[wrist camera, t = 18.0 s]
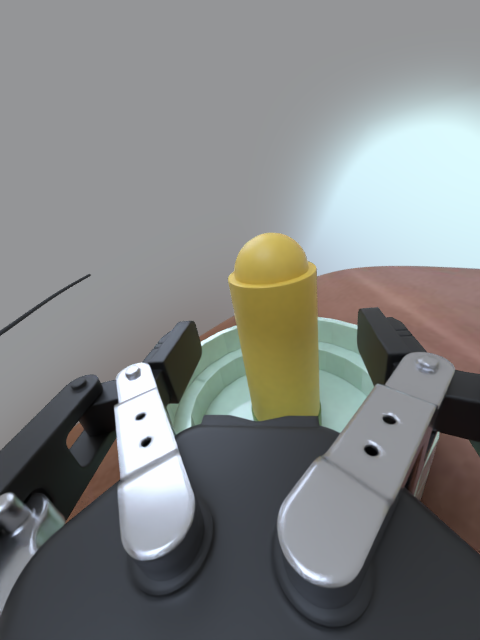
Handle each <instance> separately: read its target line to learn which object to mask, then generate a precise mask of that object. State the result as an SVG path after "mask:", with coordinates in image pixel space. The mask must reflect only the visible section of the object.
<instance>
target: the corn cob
mask: <svg viewBox="0 0 480 640" xmlns="http://www.w3.org/2000/svg"><path fill="white" fill-rule="evenodd" d="M228 283H229V287H230V293H231V298H232V303H233V309H234V314H235V319H236V325H237V330H238V335H239V340H240V345H241V351H242V356H243V361H244V366H245V372H246V377H247V382H248V387H249V392H250V398H251V403H252V406H251V409H252V415H253V420H254V421H264V420H269V419H274V418H279V417H284V416H318V418H319V425H320V426H322V414H321V402H320V392H319V351H318V310H317V271H316V266H315V265H314V264H313V263H311V262H309V261H307V257H306V255H305V252H304V251H303V249H302V248H301V246H300V245H299V244H298V243H297V242H296V241H295V240H293V239H292V238H290V237H288V236H286V235H283V234H280V233H265V234H261V235H258V236H256V237H254V238H253V239H251V240H250V241H248V242H247V243H246V244H245V245H244V246H243V248H242V249H241V251H240V252H239V254H238V256H237V259H236V262H235V271H234V272H233V273H231V275H229V277H228Z"/></svg>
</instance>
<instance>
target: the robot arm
mask: <svg viewBox="0 0 480 640" xmlns="http://www.w3.org/2000/svg"><path fill="white" fill-rule="evenodd" d="M90 276H91V274H88V275H86V276H85V277H83V278H81V279H79V280H77V281H75V282H73V283H72V284H70V285H68V286H67V287H65V288H63V289H62V290H60V291H58V292H57V293H55V294H53V295H52V296H50V297H49V298H47V299H46V300H44V301H43V302H41V303H40V304H38V305H37V306H36V307H34V308H32V309H31V310H29V311H28V312H27V313H25V314H24V315H23V316H21V317H20V318H18V319H17V320H15V321H14V322H12V323H11V324H9V325H8V326H7V327H5V328H4V329H2V330H1V331H0V336H1V335H2V334H3V333H5V332H6V331H8V330H9V329H11V328H12V327H13V326H15V325H16V324H18V323H19V322H20V321H22V320H23V319H25V318H26V317H27V316H29V315H30V314H31V313H33V312H34V311H35V310H37V309H38V308H40V307H41V306H42V305H44V304H45V303H47V302H48V301H50V300H51V299H53V298H54V297H56V296H57V295H59V294H60V293H62V292H64V291H65V290H67V289H68V288H70V287H72V286H73V285H75V284H77V283H79V282H81V281H82V280H84V279H86V278H88V277H90ZM357 347H358V351H359V353H360V356H361V358H362V360H363V362H364V365H365V367H366V369H367V372H368V374H369V376H370V378H371V381H372V383H373V385H374V388H373V389H372V391H371V392H370V393H369V395H368V396H367V397H366V399H365V400H364V402H363V403H362V404H361V406H360V407H359V408H358V410H357V411H356V413H355V414H354V415H353V417H352V418H351V419H350V421H349V422H348V424H347V425H346V426H345V428H344V429H343V430H342V432H341V433H339V432H337V431H335V430H333V429H330V428H327V427H324V426H320V425H319V418H318V416H284V417H279V418H274V419H269V420H264V421H253V420H248V419H244V418H240V417H236V416H232V415H204V416H203V419H202V422H201V424H198V425H195V426H192V427H189V428H187V429H185V430H183V431H181V432H179V433H178V434H176V432H175V429H174V426H173V424H172V421H171V418H170V415H169V413H168V410H167V406H168V404H179V402H180V400H181V398H182V396H183V394H184V392H185V390H186V388H187V386H188V384H189V381H190V379H191V377H192V375H193V373H194V371H195V369H196V367H197V365H198V363H199V361H200V359H201V356H202V346H201V342H200V339H199V335H198V331H197V328H196V324H195V322H194V321H184V322H179V323H177V325H176V326H175V327H174V329H173V330H172V331H170V332H169V333H167V334H166V335H164V336H163V337H162V338H161V339H160V341H159V342H158V344H156V346H155V347H154V349H153V350H152V351H151V352H150V353H149V354H148V356H147V357H146V358H145V359H144V361H143V362H142V363H136V364H133V365H130V366H128V367H126V368H125V369H123V370H122V371H121V372H120V373H119V374H118V375H117V377H116V380H112V381H108V382H104V383H100V381H99V379H98V377H97V376H96V375H85V376H82V377H79V378H77V379H75V380H74V381H72V382H70V383H69V384H68V385H66V386H65V387H64V388H63V389H62V390H61V391H60V392H59V393H58V394H57V395H56V396H55V397H54V398H53V399H52V400H51V401H50V402H49V403H48V404H47V405H46V406H45V407H44V408H43V409H42V410H41V411H40V412H39V413H38V414H37V415H36V416H35V417H34V418H33V419H32V420H31V421H30V422H29V423H28V424H27V425H26V426H25V427H24V428H23V429H22V430H21V431H20V432H19V433H18V434H17V435H16V436H15V437H14V438H13V439H12V440H11V441H10V442H9V443H8V444H7V445H6V446H5V447H4V448H3V449H2V450H1V451H0V640H480V555H479V554H478V553H477V552H476V551H475V550H474V549H473V548H472V547H470V546H469V545H468V544H467V543H466V542H465V541H464V540H463V539H462V538H460V537H459V536H458V535H457V534H456V533H455V532H454V531H453V530H452V529H450V528H449V527H448V526H447V525H446V524H445V523H444V522H443V521H442V520H440V519H439V518H438V517H437V516H436V515H435V514H434V513H433V512H432V511H431V510H429V509H428V508H427V507H426V506H425V505H424V504H423V503H422V502H421V501H419V500H418V499H417V498H416V497H415V496H414V493H415V490H416V487H417V484H418V481H419V478H420V475H421V472H422V470H423V467H424V465H425V462H426V460H427V457H428V455H429V453H430V450H431V448H432V445H433V443H434V440H435V438H436V435H437V433H438V432H441V433H445V434H448V435H452V436H456V437H460V438H464V439H468V440H469V441H470V443H471V444H472V446H473V447H474V449H475V450H476V452H477V454H478V455H479V457H480V374H475V373H469V372H463V371H458V370H455V368H454V366H453V364H452V363H451V362H450V361H448V360H447V359H445V358H443V357H441V356H439V355H436V354H432V353H427V352H426V350H425V349H424V348H423V347H422V346H421V345H420V343H419V342H418V341H417V340H416V339H415V337H414V336H412V334H411V333H410V331H408V329H407V328H406V327H405V325H404V324H403V323H402V322H400V321H398V320H396V319H394V318H393V317H387V318H386V317H385V316H384V315H383V313H382V312H381V311H380V309H379V308H378V307H376V308H362V309H359V312H358V326H357ZM78 421H79V422H80V423H81V425H82V426H83V428H84V431H83V432H82V433H81V435H80V436H79V437H78V439H77V440H76V441H75V443H74V444H73V445H72V447H71V448H70V449H68V447H67V445H66V439H67V436H68V434H69V432H70V431H71V430H72V428H73V427H74V426H75V425H76V423H77V422H78ZM116 437H117V444H118V455H119V466H120V480H119V481H118V482H117V483H115V484H114V485H113V486H112V487H110V488H109V489H108V490H107V491H105V492H104V493H103V494H102V495H101V496H99V497H98V498H97V499H96V500H94V501H93V502H92V503H91V504H89V505H88V506H87V507H86V508H85V509H83V510H82V511H81V512H80V513H78V514H77V515H76V516H75V517H73V518H72V519H71V520H70V521H69V522H67V523H66V524H65V522H66V520H67V518H68V517H69V515H70V513H71V512H72V510H73V508H74V507H75V505H76V504H77V502H78V500H79V499H80V497H81V495H82V494H83V492H84V490H85V489H86V487H87V485H88V484H89V482H90V480H91V479H92V477H93V475H94V474H95V472H96V470H97V469H98V467H99V465H100V464H101V462H102V460H103V459H104V457H105V455H106V454H107V452H108V450H109V449H110V447H111V445H112V444H113V442H114V440H115V439H116Z"/></svg>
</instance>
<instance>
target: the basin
mask: <svg viewBox="0 0 480 640" xmlns="http://www.w3.org/2000/svg"><path fill="white" fill-rule="evenodd" d="M357 326H358V325H354V324H350V323H347V322H343V321H339V320H336V319H335V320H334V319H329V318H321V317H318V351H319V392H320V402H321V414H322V426H324V427H327V428H330V429H333V430H335V431H337V432H339V433H341V432H342V430H343V429H344V428H345V426H346V425H347V424H348V422H349V421H350V419H351V418H352V417H353V415H354V414H355V413H356V411H357V410H358V408H359V407H360V406H361V404H362V403H363V402H364V400H365V399H366V397H367V396H368V395H369V393H370V392H371V391H372V389H373V388H374V385H373V383H372V381H371V378H370V376H369V374H368V372H367V369H366V367H365V365H364V362H363V360H362V358H361V356H360V353H359V351H358V347H357ZM201 346H202V356H201V359H200V361H199V363H198V365H197V367H196V369H195V371H194V373H193V375H192V377H191V379H190V381H189V384H188V386H187V388H186V390H185V392H184V394H183V396H182V398H181V400H180V402H179V404H168V406H167V410H168V413H169V415H170V418H171V421H172V424H173V426H174V429H175V432H176V434H178V433H179V432H181V431H183V430H185V429H187V428H189V427H192V426H195V425H198V424H201V422H202V419H203V416H204V415H232V416H236V417H240V418H244V419H248V420H253V415H252V409H251V406H252V403H251V398H250V392H249V387H248V382H247V377H246V372H245V366H244V361H243V356H242V351H241V345H240V340H239V335H238V330H237V325H236V326H233V327H231V328H228V329H225V330H223V331H221V332H218V333H216V334H215V335H213V336H211V337H209V338H207V339H205V340H204V341H202V342H201ZM253 421H254V420H253ZM438 440H439V432H438V433H437V435H436V438H435V440H434V443H433V445H432V448H431V450H430V453H429V455H428V457H427V460H426V462H425V465H424V467H423V470H422V472H421V475H420V478H419V481H418V484H417V487H416V490H415V493H414V496H415V497H416V498H417V499H418V500H419V501H420V499H421V496H422V494H423V491H424V487H425V484H426V480H427V477H428V474H429V470H430V467H431V464H432V460H433V457H434V453H435V450H436V446H437V443H438Z"/></svg>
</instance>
